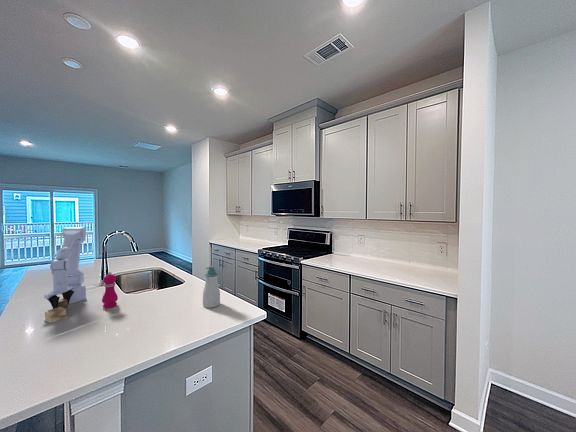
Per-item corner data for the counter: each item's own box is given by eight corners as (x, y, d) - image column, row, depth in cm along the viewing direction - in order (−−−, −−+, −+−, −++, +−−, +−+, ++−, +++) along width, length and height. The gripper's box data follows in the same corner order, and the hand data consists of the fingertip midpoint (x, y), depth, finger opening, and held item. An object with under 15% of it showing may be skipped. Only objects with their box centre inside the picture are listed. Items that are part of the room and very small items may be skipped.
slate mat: (68, 308, 135) (68, 307, 135) (80, 313, 130) (80, 312, 130) (37, 317, 124) (37, 316, 124) (50, 323, 118) (50, 322, 118)
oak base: (60, 314, 127) (60, 306, 127) (66, 316, 124) (66, 309, 124) (45, 319, 122) (44, 311, 121) (50, 321, 119) (50, 313, 119)
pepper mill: (109, 310, 134) (109, 274, 134) (98, 308, 136) (98, 273, 135) (120, 305, 141) (120, 270, 141) (110, 303, 143) (110, 269, 142)
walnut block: (63, 306, 133) (63, 298, 133) (67, 308, 132) (67, 299, 131) (54, 309, 130) (54, 300, 130) (58, 310, 128) (57, 302, 128)
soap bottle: (198, 306, 142) (199, 267, 141) (211, 300, 150) (211, 263, 149) (211, 309, 137) (211, 269, 136) (223, 303, 146) (223, 266, 145)
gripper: (67, 277, 138) (67, 301, 138) (38, 285, 123) (39, 312, 124) (78, 278, 137) (79, 301, 138) (51, 286, 123) (51, 313, 123)
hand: (61, 306), depth 131 cm, fingers closed on walnut block, 5 cm apart
